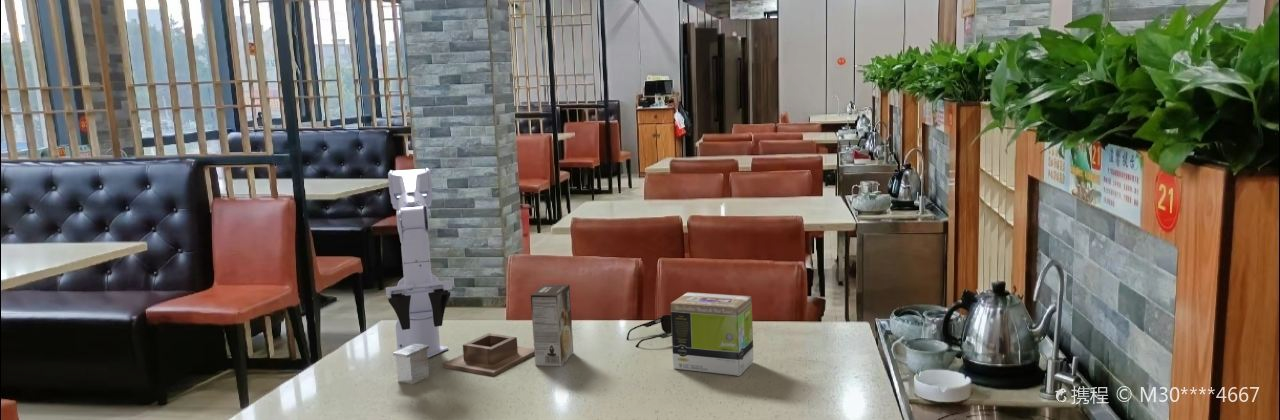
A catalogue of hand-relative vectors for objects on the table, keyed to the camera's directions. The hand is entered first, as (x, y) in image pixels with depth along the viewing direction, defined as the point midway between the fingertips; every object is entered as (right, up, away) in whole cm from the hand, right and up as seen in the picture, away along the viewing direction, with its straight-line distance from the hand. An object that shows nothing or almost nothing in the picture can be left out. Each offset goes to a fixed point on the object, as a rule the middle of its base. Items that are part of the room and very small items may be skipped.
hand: (422, 327), depth 181 cm
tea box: (+61, -9, +3) cm, 62 cm away
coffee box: (+27, -9, +11) cm, 30 cm away
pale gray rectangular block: (-2, -11, +2) cm, 12 cm away
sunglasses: (+49, -6, +22) cm, 54 cm away
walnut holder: (+12, -9, +12) cm, 19 cm away
